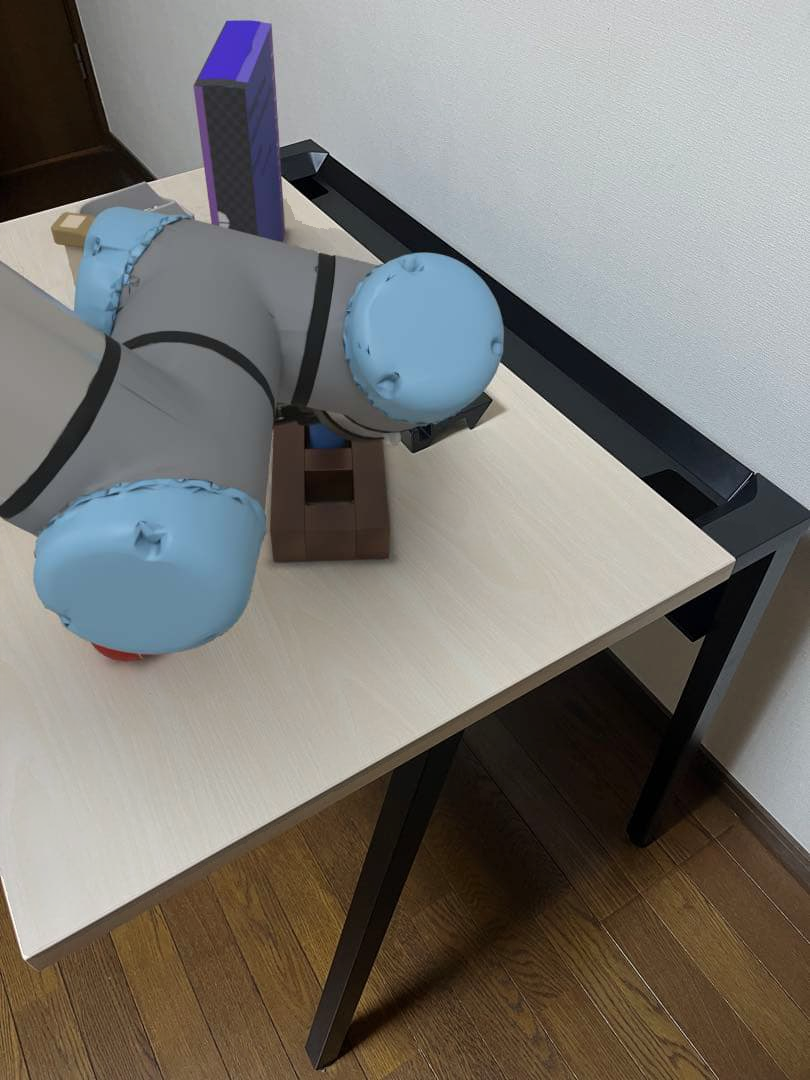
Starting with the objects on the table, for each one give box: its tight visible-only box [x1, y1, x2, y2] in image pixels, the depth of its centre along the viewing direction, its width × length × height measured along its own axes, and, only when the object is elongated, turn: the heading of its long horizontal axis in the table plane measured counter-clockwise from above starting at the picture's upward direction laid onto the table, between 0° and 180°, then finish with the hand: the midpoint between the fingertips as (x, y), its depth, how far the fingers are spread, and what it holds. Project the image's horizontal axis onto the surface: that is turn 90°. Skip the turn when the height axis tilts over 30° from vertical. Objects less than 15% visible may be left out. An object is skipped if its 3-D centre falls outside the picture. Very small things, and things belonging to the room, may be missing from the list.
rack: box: [269, 422, 391, 563], centre depth 78 cm, size 10×17×4 cm, turn 5°
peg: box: [309, 423, 345, 449], centre depth 78 cm, size 3×3×12 cm
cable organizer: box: [76, 181, 196, 220], centre depth 94 cm, size 7×12×12 cm, turn 134°
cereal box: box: [193, 19, 286, 243], centre depth 95 cm, size 17×5×24 cm, turn 178°
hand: (328, 412), depth 75 cm, fingers open, 13 cm apart
